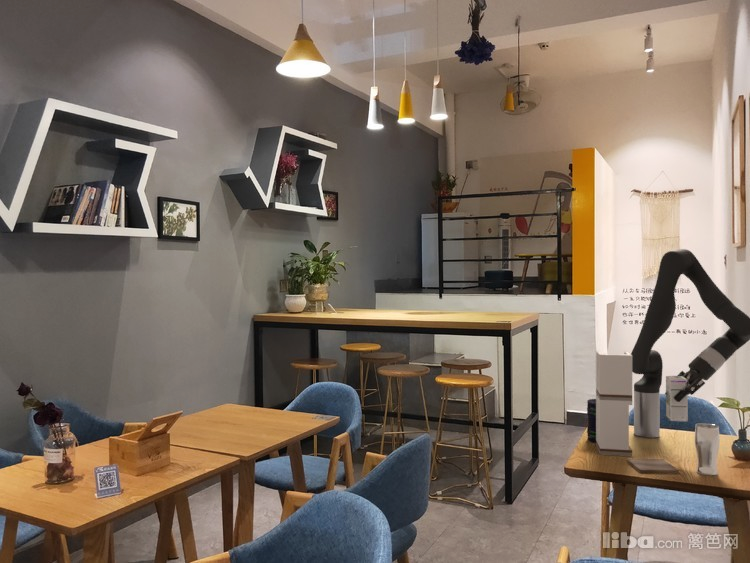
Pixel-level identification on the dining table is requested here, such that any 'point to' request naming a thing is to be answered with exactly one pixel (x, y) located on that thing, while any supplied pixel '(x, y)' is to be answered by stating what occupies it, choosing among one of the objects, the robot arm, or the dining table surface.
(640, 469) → the walnut board
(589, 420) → the storage jar
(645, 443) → the dining table surface
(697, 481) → the dining table surface
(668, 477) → the dining table surface
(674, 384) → the syrup box
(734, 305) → the robot arm
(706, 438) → the beer glass
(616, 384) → the white stacked pillar
